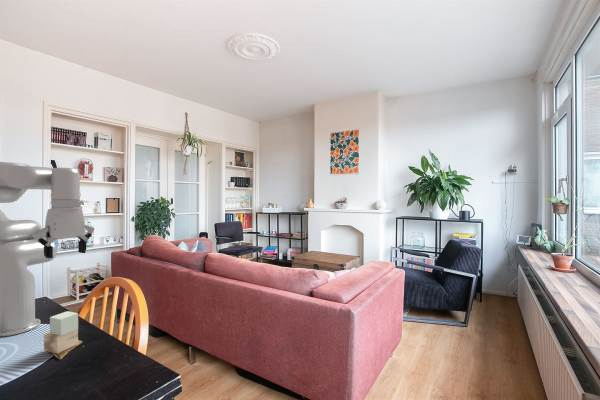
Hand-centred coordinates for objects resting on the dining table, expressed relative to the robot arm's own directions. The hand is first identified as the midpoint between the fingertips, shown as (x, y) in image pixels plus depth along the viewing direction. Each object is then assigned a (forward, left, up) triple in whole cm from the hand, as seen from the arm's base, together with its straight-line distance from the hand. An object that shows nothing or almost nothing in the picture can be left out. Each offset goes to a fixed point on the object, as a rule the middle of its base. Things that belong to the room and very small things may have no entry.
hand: (66, 255), depth 99 cm
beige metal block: (+7, -5, -27) cm, 29 cm away
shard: (+8, -3, -29) cm, 31 cm away
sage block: (+8, -4, -22) cm, 24 cm away
